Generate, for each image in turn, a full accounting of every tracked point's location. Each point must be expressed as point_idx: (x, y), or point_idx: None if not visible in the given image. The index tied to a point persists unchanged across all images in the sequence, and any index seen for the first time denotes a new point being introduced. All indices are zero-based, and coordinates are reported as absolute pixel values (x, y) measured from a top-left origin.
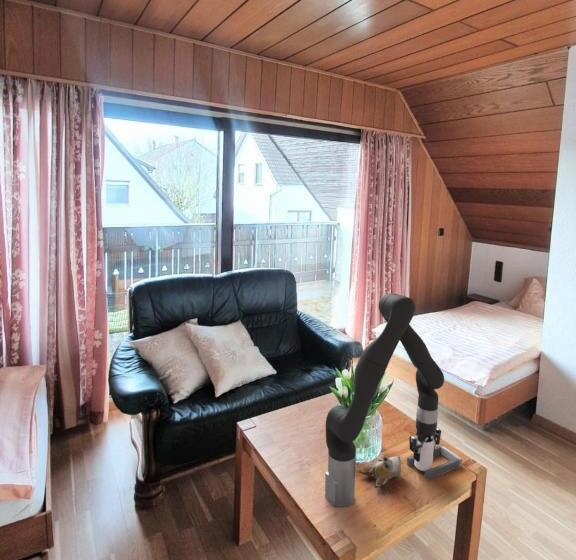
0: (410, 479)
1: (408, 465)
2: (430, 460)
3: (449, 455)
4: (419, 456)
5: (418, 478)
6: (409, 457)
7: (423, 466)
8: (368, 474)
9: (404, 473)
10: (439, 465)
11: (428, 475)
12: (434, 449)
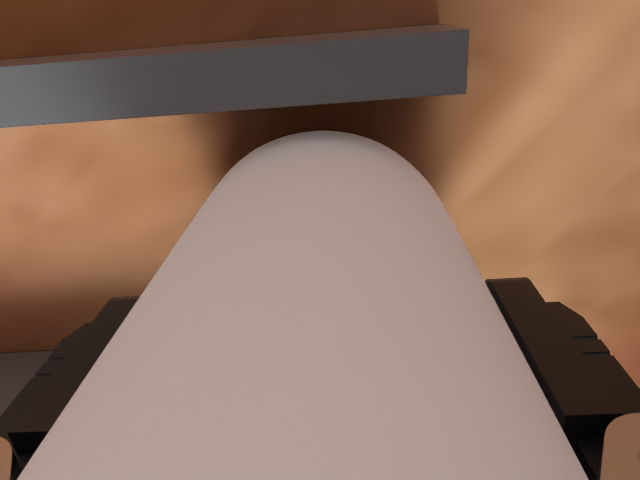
0: (621, 138)
1: None
2: (299, 186)
3: None
4: (541, 344)
5: (510, 110)
6: None
7: (422, 186)
8: None
9: (585, 259)
10: (114, 114)
11: (425, 28)
12: (19, 395)
